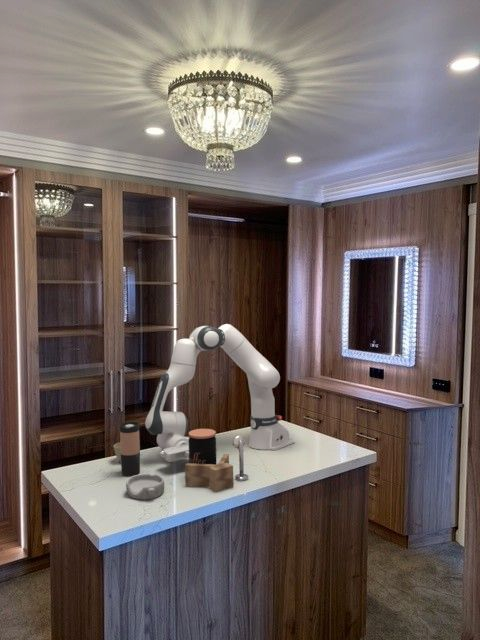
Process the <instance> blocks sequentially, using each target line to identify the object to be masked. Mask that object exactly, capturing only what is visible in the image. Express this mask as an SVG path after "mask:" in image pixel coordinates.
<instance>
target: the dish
mask: <svg viewBox="0 0 480 640" xmlns="http://www.w3.org/2000/svg"><path fill="white" fill-rule="evenodd" d="M125 488H126V493H127V494H128V496H129V497H130V498H132V499H135V500H136V499H137V500H152V499H154V498H157V497H159V496H161V495H162V494H164V491H165V479H164V477H162V475H160V474H157V473H156V474H151V473H141V474H140V473H139V474H138V475H134V476H131V477H129V478H127V480H126V482H125Z"/></svg>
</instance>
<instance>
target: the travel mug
mask: <svg viewBox="0 0 480 640" xmlns="http://www.w3.org/2000/svg"><path fill="white" fill-rule="evenodd" d="M119 435H120V436H119V438H120V439H119V441H120V442H119V443H120V451H121V462H120V465H121V466H120V467H121V475H122V477H129V478H130V477H132V476H134V475H139V474H140V473H141V444H140V441H141V440H140V423H139V422H137V421H128V422H122V423H120V424H119Z"/></svg>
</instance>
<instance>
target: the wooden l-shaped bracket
mask: <svg viewBox="0 0 480 640" xmlns="http://www.w3.org/2000/svg"><path fill="white" fill-rule="evenodd" d="M184 480H185V481H184V482H185V483H184V484H185V487H196V488H202V487H203V488H209V490H210V491H212V492H214V493H217V492H221V491H224V490H227V489H230V488H234V465H232V464H231V463H230V457H229V453H223V455H222V456H221V458H220V459H219V461H218V463H217V465H214V464H191V463H189V462H186V463H185V464H184Z"/></svg>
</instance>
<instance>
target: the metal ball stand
mask: <svg viewBox="0 0 480 640" xmlns="http://www.w3.org/2000/svg"><path fill="white" fill-rule="evenodd" d="M231 444H232V447H233V448H235V449H237V450H238V451H239V452H238V453H239V454H238V456H239V457H238V458H239V460H238V461H239V464H238V465H239V473H237V474H236V475H235V476H234V480H236V481H238V482H246V481H248V480H249V475H248V474H246V473H245V471H244V469H245V468H244V467H245V466H244V462H245V461H244V446H245V444H246V439H245V437H244V436H242V435H239V434H237V435H235V436H234V437H232V441H231Z"/></svg>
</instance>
